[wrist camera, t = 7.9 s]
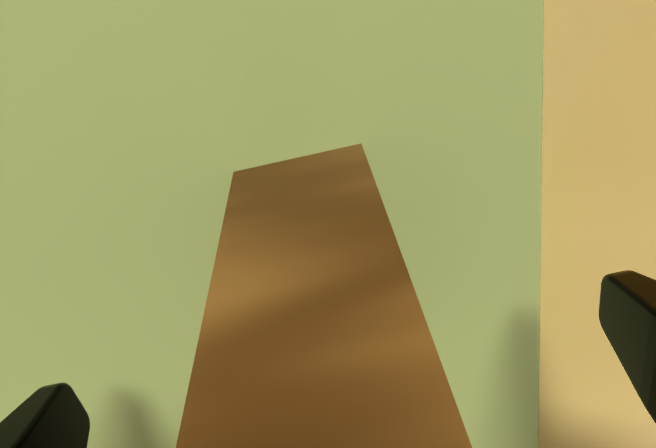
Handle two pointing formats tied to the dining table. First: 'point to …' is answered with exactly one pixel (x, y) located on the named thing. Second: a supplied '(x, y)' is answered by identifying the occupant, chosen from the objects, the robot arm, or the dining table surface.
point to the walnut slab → (314, 321)
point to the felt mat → (251, 151)
